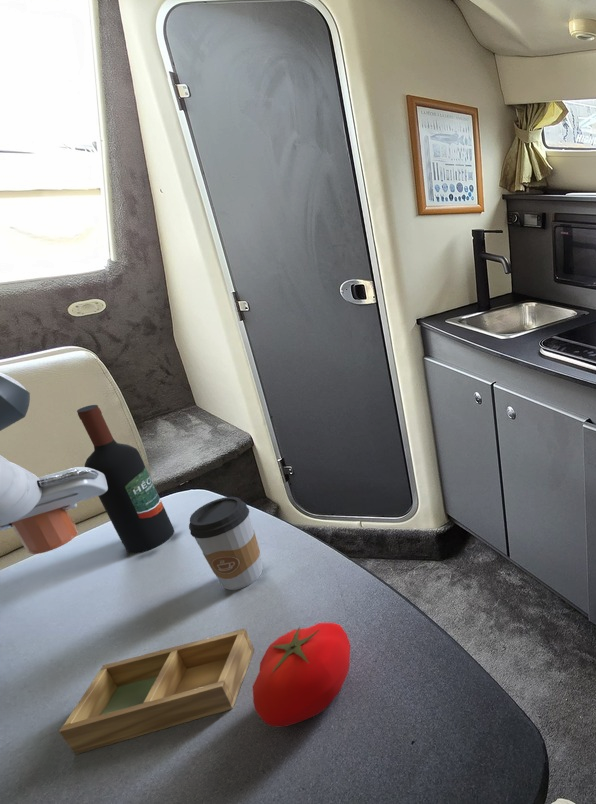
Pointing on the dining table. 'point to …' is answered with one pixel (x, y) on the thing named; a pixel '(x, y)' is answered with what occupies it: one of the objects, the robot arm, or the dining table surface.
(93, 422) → the wine bottle
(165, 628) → the dining table surface
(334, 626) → the tomato
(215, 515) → the coffee cup
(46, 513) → the tumbler
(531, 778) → the dining table surface
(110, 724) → the tray
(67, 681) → the dining table surface
